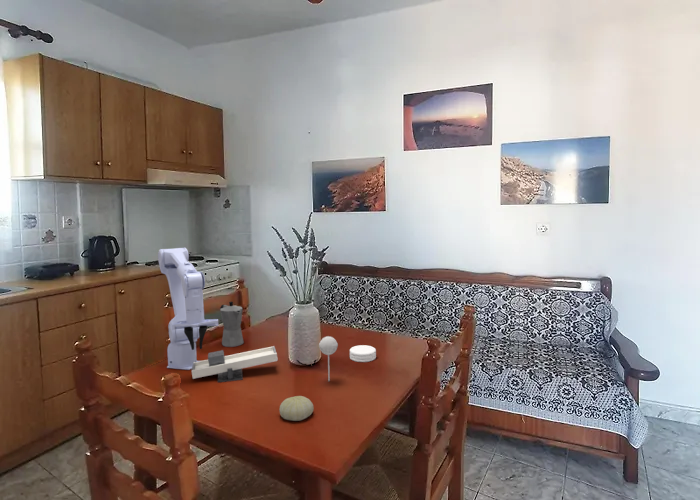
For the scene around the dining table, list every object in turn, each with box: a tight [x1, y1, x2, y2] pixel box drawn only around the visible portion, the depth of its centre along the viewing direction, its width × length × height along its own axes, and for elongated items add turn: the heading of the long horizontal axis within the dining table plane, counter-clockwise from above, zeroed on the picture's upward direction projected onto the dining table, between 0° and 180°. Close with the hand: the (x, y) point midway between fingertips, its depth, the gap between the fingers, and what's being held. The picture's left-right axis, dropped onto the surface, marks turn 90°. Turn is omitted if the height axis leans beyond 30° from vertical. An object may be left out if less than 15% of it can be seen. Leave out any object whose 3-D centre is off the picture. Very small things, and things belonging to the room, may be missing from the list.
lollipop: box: [318, 335, 339, 382], centre depth 143 cm, size 6×6×15 cm
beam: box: [191, 345, 278, 380], centre depth 151 cm, size 28×8×3 cm, turn 105°
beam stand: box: [217, 368, 244, 383], centre depth 151 cm, size 8×12×4 cm, turn 16°
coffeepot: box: [219, 301, 245, 348], centre depth 184 cm, size 15×9×18 cm, turn 44°
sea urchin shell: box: [278, 395, 314, 422], centre depth 121 cm, size 9×8×8 cm
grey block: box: [207, 349, 225, 367], centre depth 149 cm, size 5×5×4 cm
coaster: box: [349, 344, 377, 363], centre depth 166 cm, size 10×10×4 cm
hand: (196, 348), depth 147 cm, fingers closed
